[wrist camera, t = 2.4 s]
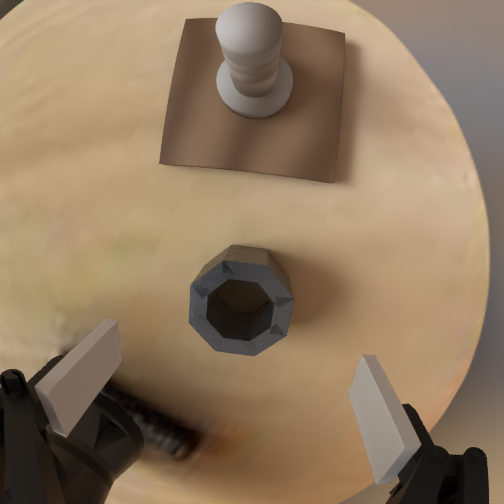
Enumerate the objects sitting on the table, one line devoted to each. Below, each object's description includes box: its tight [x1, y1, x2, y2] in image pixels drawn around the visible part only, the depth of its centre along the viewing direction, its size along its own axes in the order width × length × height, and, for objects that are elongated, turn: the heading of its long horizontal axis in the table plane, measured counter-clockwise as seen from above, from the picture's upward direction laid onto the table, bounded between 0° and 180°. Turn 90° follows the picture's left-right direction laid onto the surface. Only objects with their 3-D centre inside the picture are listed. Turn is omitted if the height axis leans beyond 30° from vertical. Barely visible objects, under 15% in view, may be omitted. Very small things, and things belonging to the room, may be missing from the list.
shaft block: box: [159, 2, 345, 183], centre depth 16 cm, size 14×14×12 cm
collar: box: [189, 245, 294, 356], centre depth 23 cm, size 7×7×5 cm
